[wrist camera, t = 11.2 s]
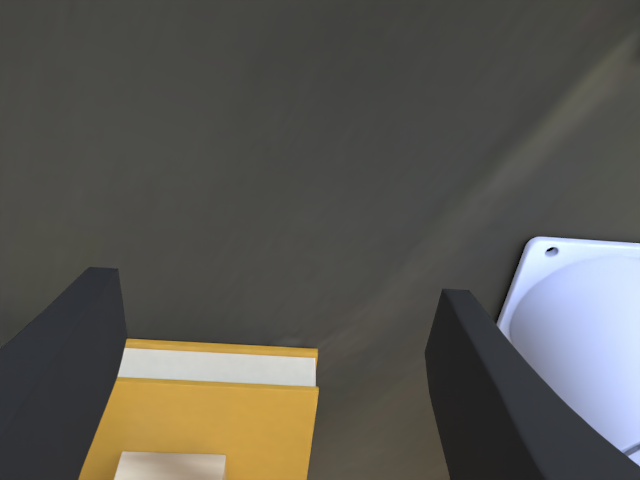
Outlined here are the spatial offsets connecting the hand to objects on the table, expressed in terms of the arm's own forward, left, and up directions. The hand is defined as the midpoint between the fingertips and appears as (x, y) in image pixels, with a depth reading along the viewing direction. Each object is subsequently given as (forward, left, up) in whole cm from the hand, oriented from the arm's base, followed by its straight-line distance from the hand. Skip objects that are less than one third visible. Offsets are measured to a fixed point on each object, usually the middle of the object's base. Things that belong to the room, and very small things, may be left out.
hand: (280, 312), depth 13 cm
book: (+5, +20, -10) cm, 23 cm away
